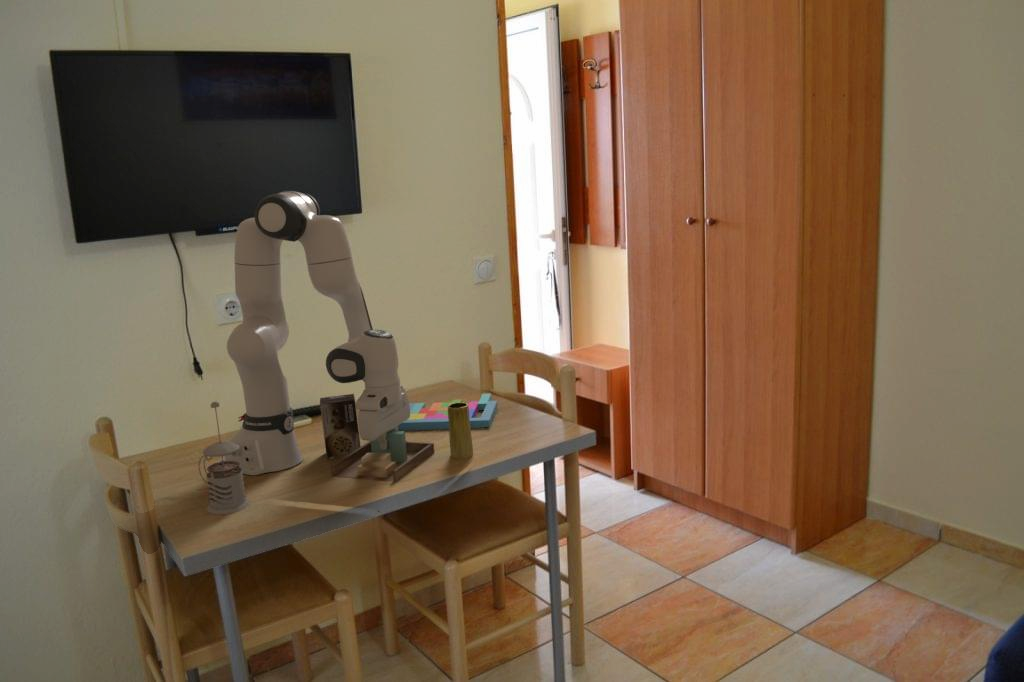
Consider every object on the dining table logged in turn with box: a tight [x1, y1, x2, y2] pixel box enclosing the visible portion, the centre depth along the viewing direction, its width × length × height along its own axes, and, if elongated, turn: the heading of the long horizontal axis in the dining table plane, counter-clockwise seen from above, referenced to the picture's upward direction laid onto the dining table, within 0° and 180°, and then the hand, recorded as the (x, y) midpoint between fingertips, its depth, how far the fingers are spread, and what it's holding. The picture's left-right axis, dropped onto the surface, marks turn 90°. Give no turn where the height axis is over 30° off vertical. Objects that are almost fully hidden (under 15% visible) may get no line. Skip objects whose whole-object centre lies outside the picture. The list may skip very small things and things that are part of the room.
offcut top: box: [361, 453, 391, 467], centre depth 212 cm, size 6×4×2 cm, turn 77°
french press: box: [197, 401, 252, 515], centre depth 198 cm, size 10×12×25 cm
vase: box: [448, 401, 474, 460], centre depth 220 cm, size 6×6×14 cm
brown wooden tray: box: [330, 440, 435, 483], centre depth 218 cm, size 18×21×4 cm
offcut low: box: [357, 462, 397, 478], centre depth 212 cm, size 8×5×2 cm, turn 69°
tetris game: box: [398, 393, 498, 431], centre depth 260 cm, size 28×3×28 cm
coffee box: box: [319, 393, 362, 460], centre depth 227 cm, size 9×6×16 cm
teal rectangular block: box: [371, 430, 407, 462], centre depth 220 cm, size 9×2×8 cm, turn 69°
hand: (388, 446), depth 220 cm, fingers open, 3 cm apart
